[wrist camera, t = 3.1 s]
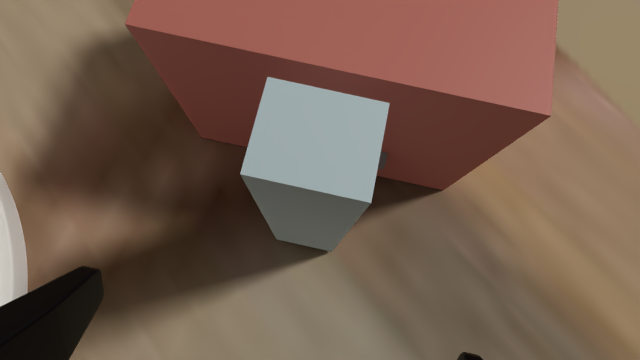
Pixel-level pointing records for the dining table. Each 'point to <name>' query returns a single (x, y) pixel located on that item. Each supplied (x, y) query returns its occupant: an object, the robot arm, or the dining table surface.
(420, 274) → the dining table surface
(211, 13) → the block
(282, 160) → the light blue l-shaped piece
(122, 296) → the dining table surface
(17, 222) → the plate stack
